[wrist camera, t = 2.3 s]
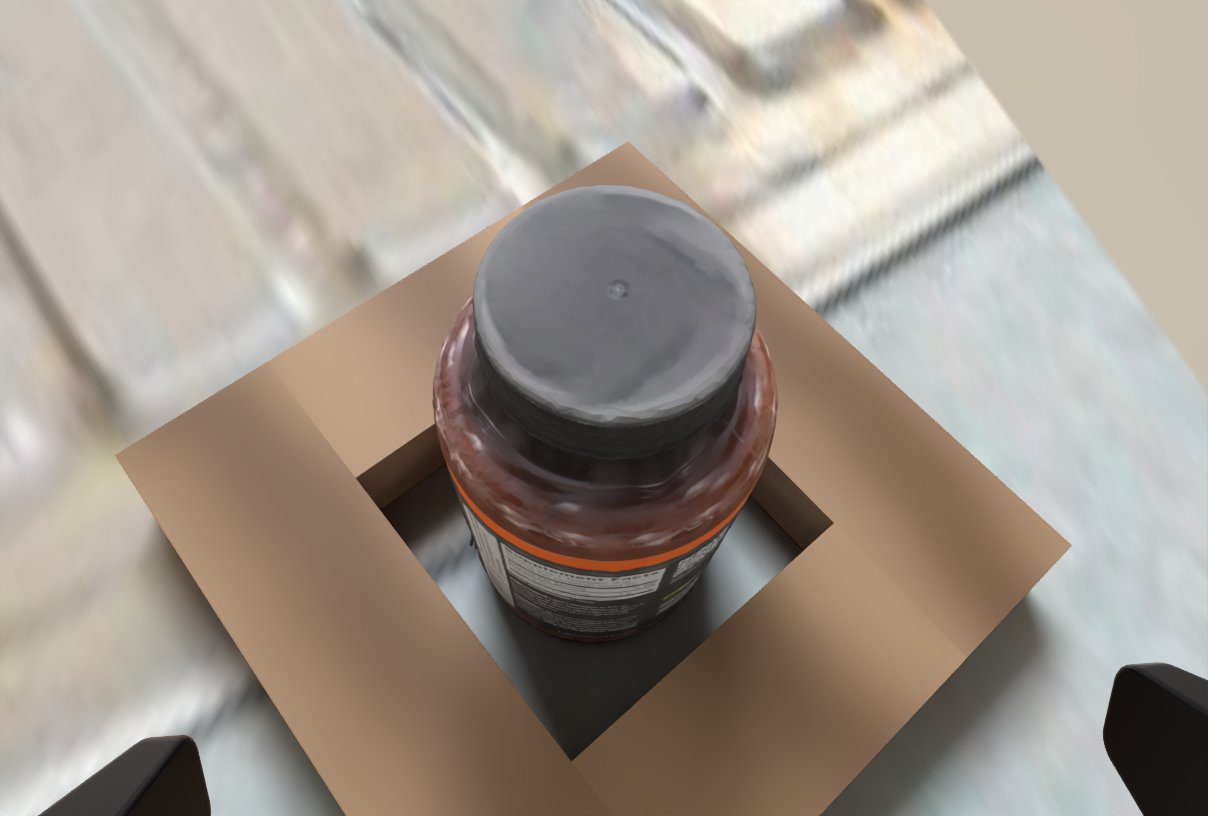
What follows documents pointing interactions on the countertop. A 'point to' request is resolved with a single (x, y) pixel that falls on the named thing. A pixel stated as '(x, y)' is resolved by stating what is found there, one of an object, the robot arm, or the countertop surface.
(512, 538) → the supplement bottle
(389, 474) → the square wooden frame
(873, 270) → the countertop surface
